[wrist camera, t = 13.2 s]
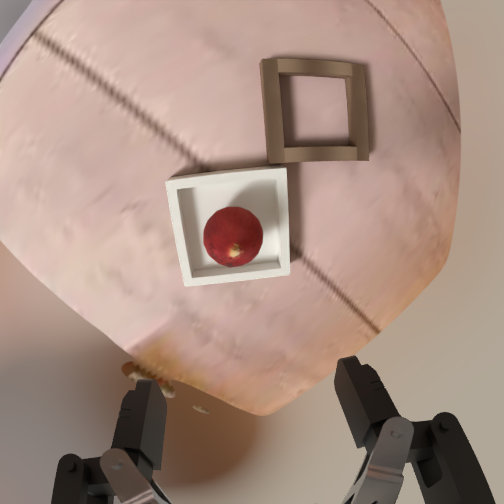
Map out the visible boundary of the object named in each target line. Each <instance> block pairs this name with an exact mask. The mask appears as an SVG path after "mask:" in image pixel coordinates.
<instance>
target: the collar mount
mask: <svg viewBox="0 0 504 504" xmlns="http://www.w3.org/2000/svg"><path fill="white" fill-rule="evenodd" d="M260 75H261V86H262V98H263V110H264V123H265V136H266V149H267V162H269V163H270V164H273V163H289V162H309V161H369V134H368V112H367V97H366V85H365V75H364V65H360V64H352V63H344V62H335V61H323V60H308V59H262V60H261V62H260ZM279 76H315V77H332V78H343V79H345V83H346V95H347V109H348V127H349V146H293V147H284V135H283V121H282V108H281V95H280V84H279Z"/></svg>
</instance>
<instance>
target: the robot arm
mask: <svg viewBox="0 0 504 504" xmlns="http://www.w3.org/2000/svg"><path fill="white" fill-rule="evenodd" d="M334 385H335V391H336V394H337V396H338V399H339V401H340V404H341V406H342V409H343V412H344V414H345V417H346V419H347V422H348V425H349V427H350V430H351V433H352V435H353V438H354V441H355V443H356V446H357V448H361V447H364V446H365V448H366V451H367V453H366V455H365V458H364V460H363V463H362V465H361V467H360V469H359V472H358V474H357V476H356V478H355V480H354V482H353V485H352V486H351V488H350V490H349V492H348V494H347V495H346V497H345V498H344V500H343V502H342V504H395V503H396V500H397V498H398V495H399V492H400V490H401V487H402V484H403V480H404V476H403V475H402V472H403V469H404V466H405V463H409V462H411V464H412V467H413V469H414V472H415V475H416V478H417V480H418V483H419V486H420V489H421V492H422V495H423V498H424V501H425V504H495V501H494V498H493V496H492V493H491V490H490V488H489V485H488V483H487V480H486V478H485V476H484V473H483V471H482V469H481V466H480V464H479V462H478V460H477V458H476V455H475V454H474V451H473V449H472V447H471V445H470V443H469V441H468V439H467V437H466V435H465V433H464V431H463V429H462V427H461V425H460V423H459V421H458V419H457V418H456V417H455V416H454V415H453V414H451V413H448V412H442V413H439V414H437V415H436V416H435V417H434V418H433V419H432V420H429V421H419V422H411V421H409V420H408V419H406V418H404V417H401V415H400V414H399V413H398V411H397V409H396V407H395V405H394V403H393V402H392V400H391V398H390V396H389V394H388V392H387V390H386V389H385V388H384V385H383V383H382V381H381V380H380V377H379V376H378V374H377V372H376V371H375V370H374V369H373V368H372V367H371V366H369V365H368V364H365V365H361V364H360V362H359V360H358V358H357V357H356V356H350V357H346V358H341V359H339V360H338V363H337V368H336V374H335V379H334ZM166 414H167V403H166V399H165V397H164V395H163V393H162V391H161V389H160V387H159V385H158V383H157V381H156V380H155V379H139V380H138V381H137V384H136V389H135V390H129V391H128V393H127V394H126V395H125V397H124V398H123V401H122V404H121V410H120V412H119V418H118V421H117V424H116V429H115V433H114V438H113V442H112V446H111V448H110V449H109V450H107V451H105V452H104V453H103V454H102V456H101V457H96V458H88V459H81V458H80V457H79V456H77V455H75V454H66V455H64V456H63V457H62V458H61V459H60V460H59V463H58V467H57V472H56V477H55V482H54V488H53V495H52V501H51V504H113V500H114V496H116V495H117V497H118V499H119V500H120V502H121V504H173V503H172V502H171V501H170V499H169V498H168V497H167V496H166V494H165V493H164V492H163V491H162V489H161V488H160V487H159V485H158V484H157V483H156V481H155V480H154V479H153V478H152V474H153V470H161V461H162V451H163V441H164V431H165V422H166Z"/></svg>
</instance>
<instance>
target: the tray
mask: <svg viewBox="0 0 504 504" xmlns="http://www.w3.org/2000/svg"><path fill="white" fill-rule="evenodd" d="M165 183H166V189H167V196H168V202H169V208H170V214H171V220H172V225H173V231H174V236H175V242H176V247H177V252H178V257H179V262H180V266H181V271H182V276H183V280H184V285H185V287H187V286H197V285H207V284H216V283H226V282H235V281H244V280H252V279H261V278H269V277H277V276H285V275H290V249H289V216H288V192H287V171H286V168H285V167H284V166H282V165H279V166H265V167H253V168H242V169H232V170H222V171H214V172H205V173H198V174H190V175H183V176H176V177H170V178H169V179H167V180H166V181H165ZM225 207H241V208H244V209H247V210H249V211H250V212H251V213H253V214H254V215H255V216H256V217H257V218H258V219H259V221H260V224H261V226H262V228H263V244H262V246H261V249H260V251H259V254H258V255H257V256H256V257H255V258H254V259H253V260H252V261H251V262H249V263H247V264H245V265H242V266H238V267H231V268H229V267H226V266H223V265H220V264H218V263H217V262H216V261H215V260H213V259H212V258H211V257H210V256H209V255H208V253H207V251H206V249H205V246H204V244H203V230H204V228H205V225H206V223H207V220H208V219H209V218H210V217H211V216H212V215H213V214H214V213H215V212H216V211H217V210H220V209H223V208H225Z"/></svg>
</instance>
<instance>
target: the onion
mask: <svg viewBox="0 0 504 504" xmlns="http://www.w3.org/2000/svg"><path fill="white" fill-rule="evenodd" d="M203 244H204V246H205V249H206V251H207V253H208V255H209V256H210V257H211V258H212V259H213V260H215V261H216V262H217V263H218V264H220V265H223V266H226V267H229V268H231V267H238V266H242V265H245V264H247V263H249V262H251V261H252V260H253V259H254V258H255V257H256V256H257V255H258V254H259V251H260V249H261V246H262V244H263V228H262V226H261V224H260V221H259V219H258V218H257V217H256V216H255V215H254V214H253V213H251V212H250V211H249V210H247V209H244V208H241V207H225V208H223V209H220V210H217V211H216V212H215V213H214V214H213V215H212V216H211V217H210V218H209V219H208V220H207V223H206V225H205V228H204V230H203Z"/></svg>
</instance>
